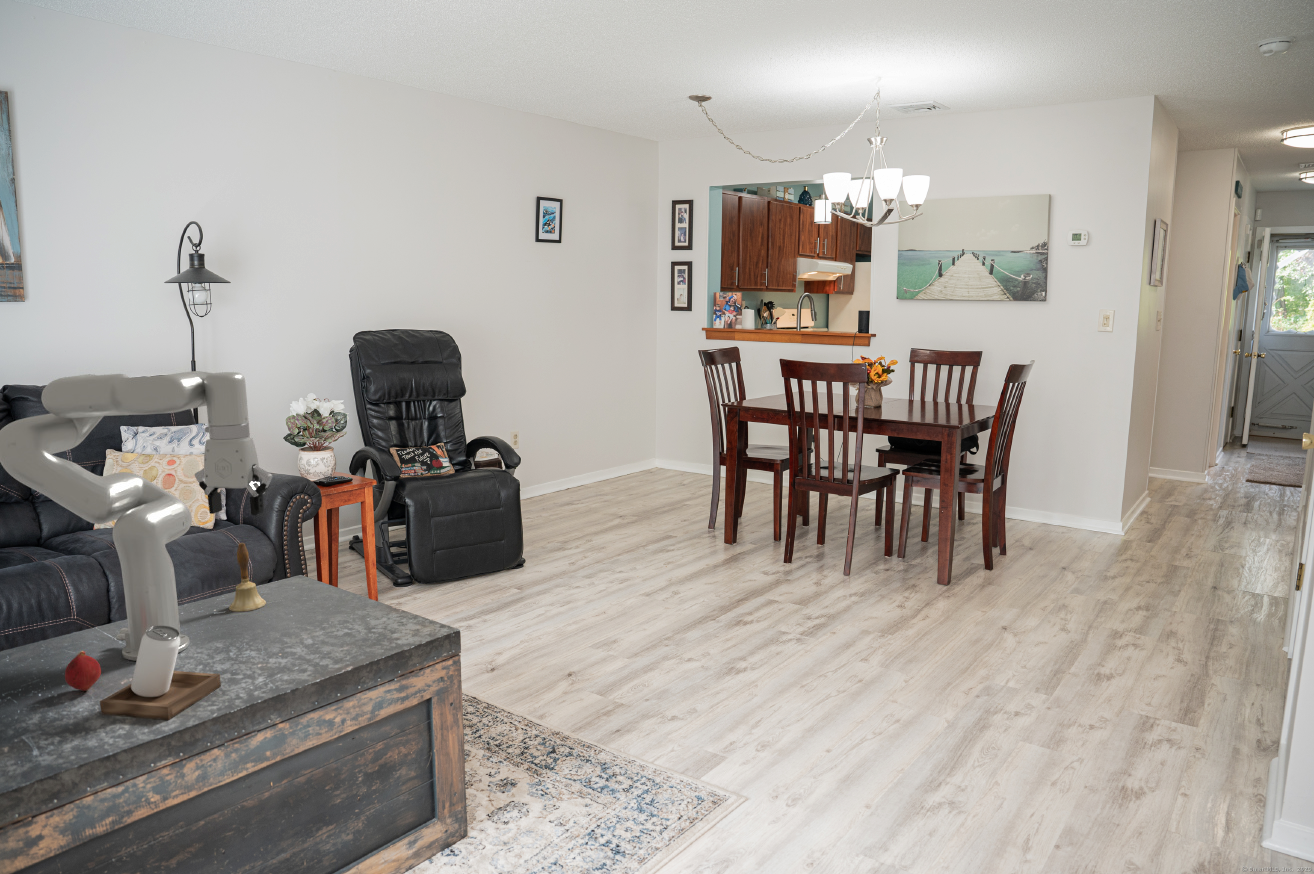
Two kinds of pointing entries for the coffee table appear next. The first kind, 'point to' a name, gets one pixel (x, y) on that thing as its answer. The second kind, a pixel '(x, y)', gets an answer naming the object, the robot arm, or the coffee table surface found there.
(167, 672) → the can
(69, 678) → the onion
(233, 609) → the hand bell
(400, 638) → the coffee table surface
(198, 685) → the tray
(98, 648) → the coffee table surface
